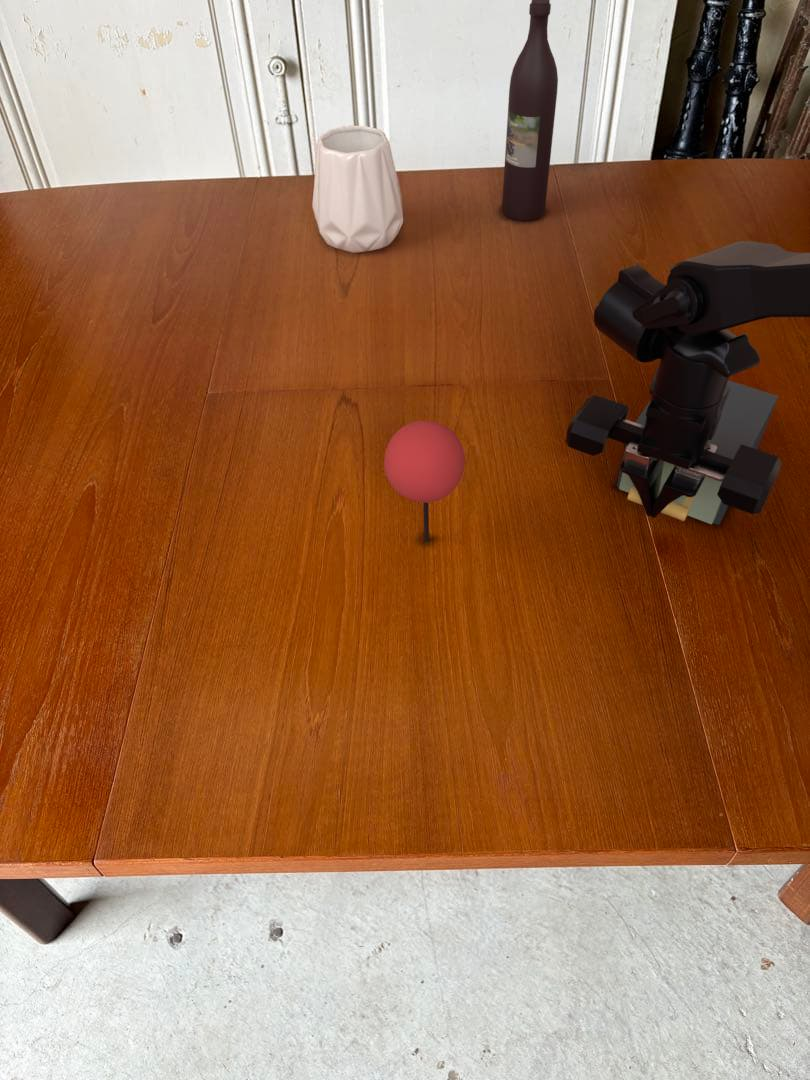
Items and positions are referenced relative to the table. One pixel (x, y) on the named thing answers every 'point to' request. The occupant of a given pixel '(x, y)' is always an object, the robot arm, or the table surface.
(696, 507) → the drawer
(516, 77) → the wine bottle
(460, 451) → the lollipop
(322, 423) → the table surface
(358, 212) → the vase
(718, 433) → the cabinet
